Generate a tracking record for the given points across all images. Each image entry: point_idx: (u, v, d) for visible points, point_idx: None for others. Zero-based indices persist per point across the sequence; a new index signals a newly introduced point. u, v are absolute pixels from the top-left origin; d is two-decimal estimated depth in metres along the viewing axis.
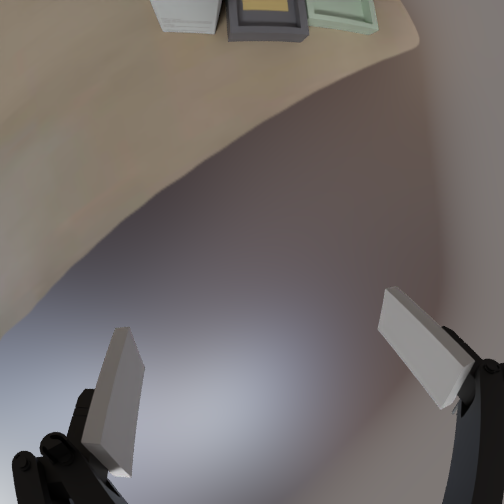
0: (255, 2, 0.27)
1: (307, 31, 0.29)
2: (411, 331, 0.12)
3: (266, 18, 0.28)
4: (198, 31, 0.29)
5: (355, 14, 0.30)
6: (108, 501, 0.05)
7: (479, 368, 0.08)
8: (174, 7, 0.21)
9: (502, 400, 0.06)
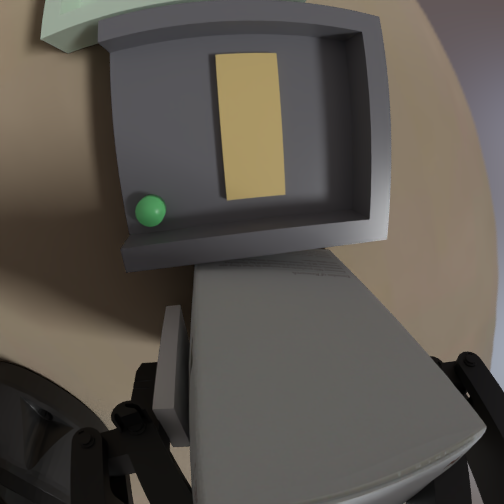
0: (254, 156, 0.11)
1: (370, 17, 0.08)
2: None
3: (310, 123, 0.11)
4: None
5: None
6: (174, 474, 0.06)
7: None
8: None
9: None
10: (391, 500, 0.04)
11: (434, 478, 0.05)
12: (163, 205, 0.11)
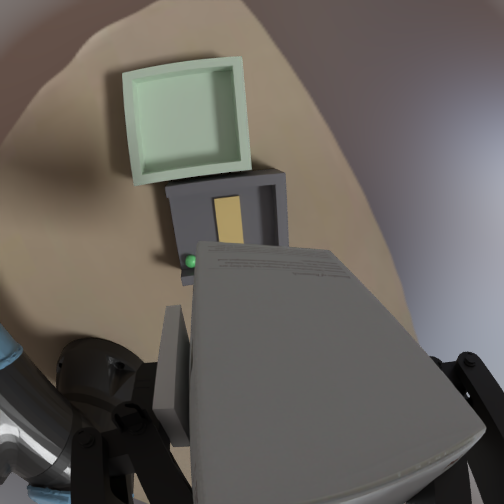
0: (231, 239, 0.29)
1: (280, 174, 0.26)
2: None
3: (254, 223, 0.29)
4: None
5: (208, 86, 0.24)
6: (174, 474, 0.06)
7: None
8: None
9: None
10: (391, 500, 0.04)
11: (434, 478, 0.05)
12: None
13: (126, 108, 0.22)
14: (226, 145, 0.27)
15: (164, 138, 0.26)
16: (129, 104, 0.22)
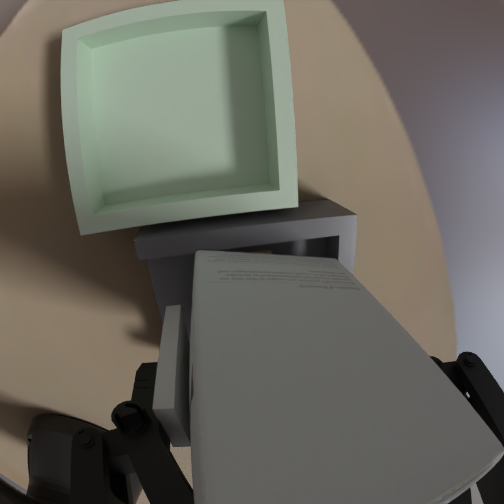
0: None
1: (349, 218, 0.14)
2: None
3: None
4: None
5: (217, 49, 0.12)
6: (174, 474, 0.06)
7: None
8: None
9: None
10: None
11: None
12: None
13: (64, 90, 0.10)
14: (248, 157, 0.15)
15: (135, 143, 0.14)
16: (69, 82, 0.10)
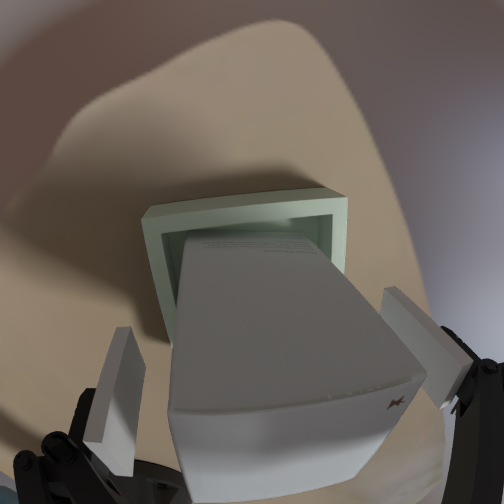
0: None
1: None
2: (409, 330, 0.12)
3: None
4: None
5: (284, 230, 0.18)
6: (109, 500, 0.05)
7: (478, 368, 0.08)
8: None
9: (501, 400, 0.06)
10: (340, 434, 0.07)
11: (384, 421, 0.07)
12: None
13: (157, 281, 0.15)
14: None
15: None
16: (161, 276, 0.15)
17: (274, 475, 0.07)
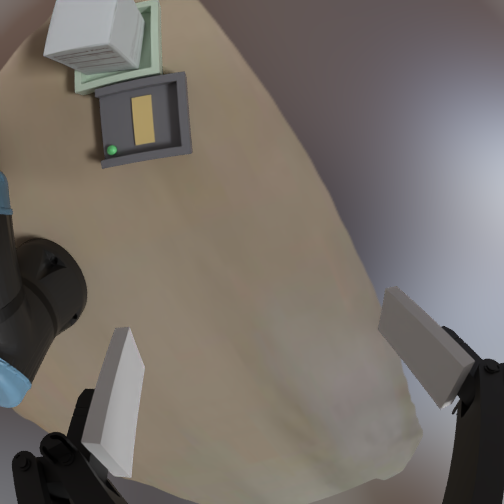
0: (143, 130, 0.31)
1: (180, 73, 0.28)
2: (411, 331, 0.12)
3: (163, 116, 0.31)
4: (142, 34, 0.26)
5: None
6: (108, 501, 0.05)
7: (479, 368, 0.08)
8: (125, 31, 0.20)
9: (502, 400, 0.06)
10: None
11: None
12: (115, 147, 0.31)
13: None
14: (146, 61, 0.29)
15: None
16: None
17: (73, 21, 0.15)
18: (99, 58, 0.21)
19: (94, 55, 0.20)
